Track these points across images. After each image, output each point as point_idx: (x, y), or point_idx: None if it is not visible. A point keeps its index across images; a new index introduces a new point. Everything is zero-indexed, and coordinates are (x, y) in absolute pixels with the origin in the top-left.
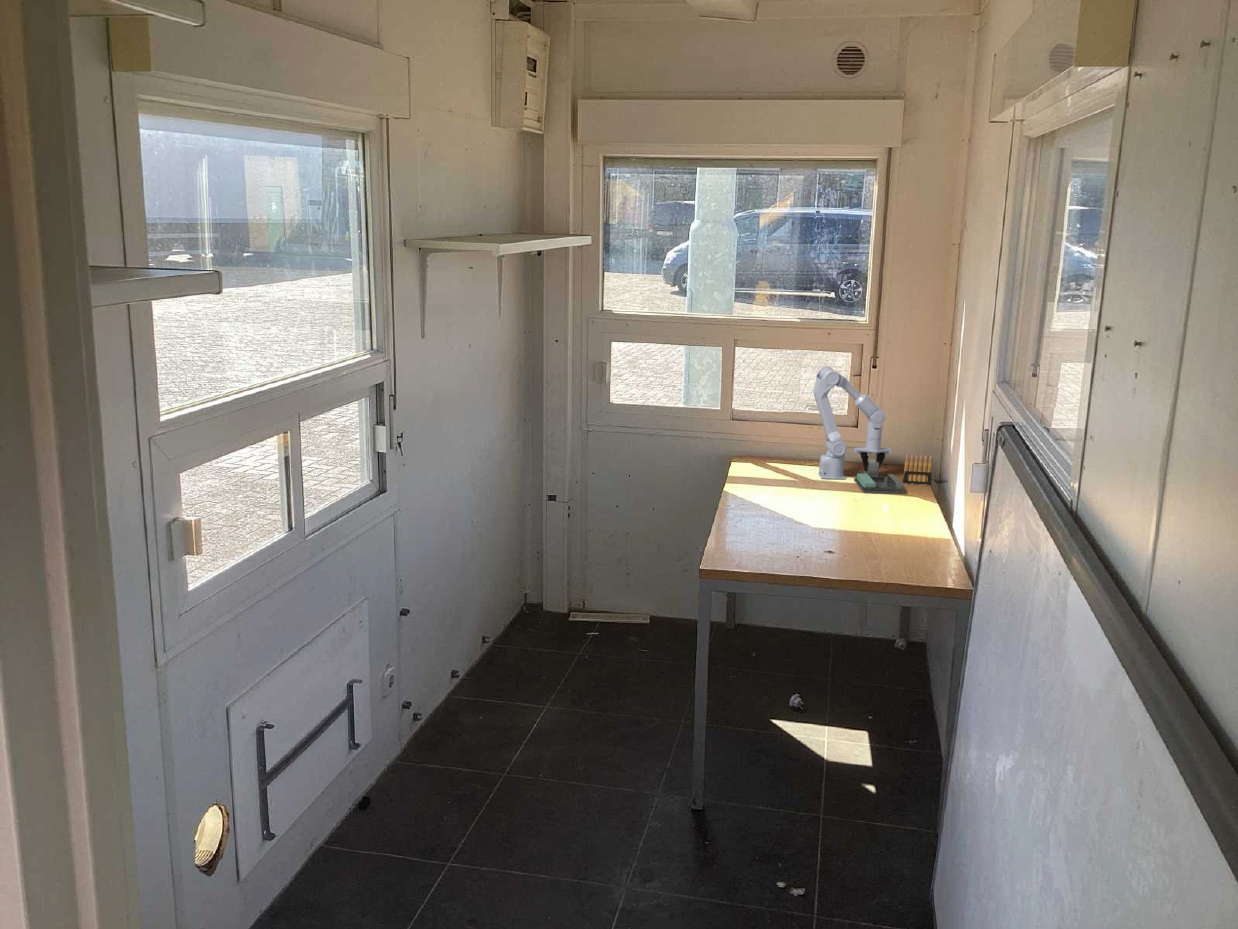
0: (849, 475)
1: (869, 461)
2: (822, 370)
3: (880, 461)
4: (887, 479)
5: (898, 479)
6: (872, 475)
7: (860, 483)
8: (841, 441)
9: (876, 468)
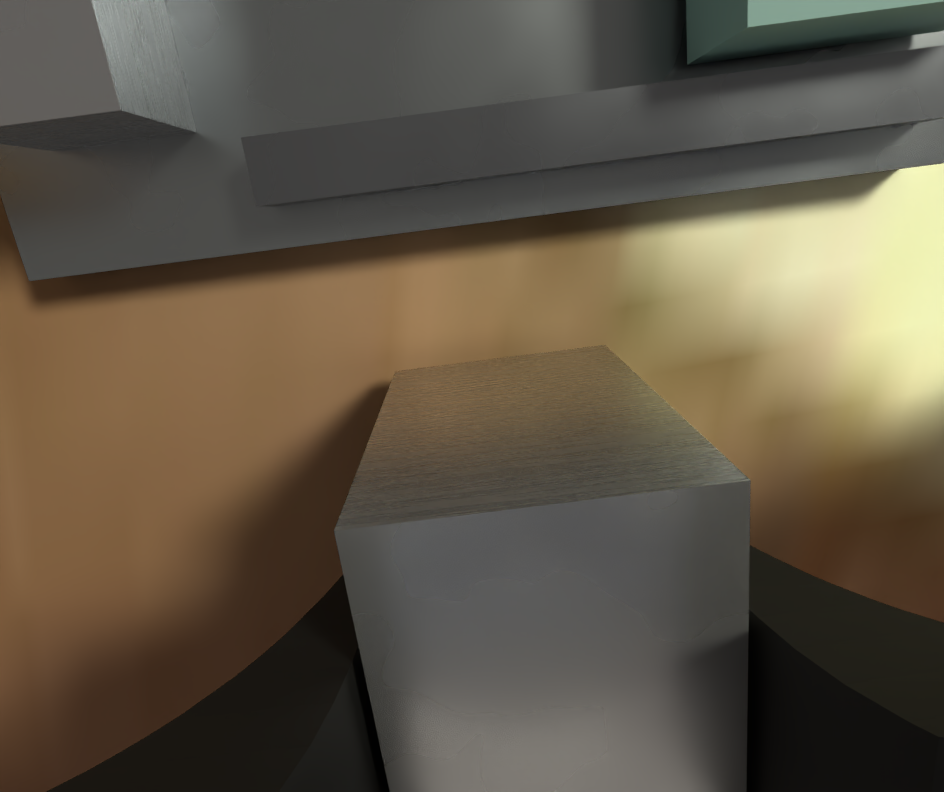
0: (882, 523)
1: (692, 638)
2: None
3: (273, 688)
4: (178, 88)
5: None
6: (513, 368)
7: None
8: None
9: (432, 430)
